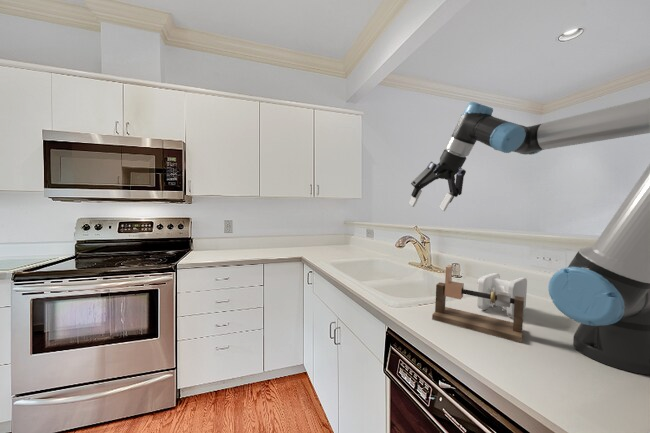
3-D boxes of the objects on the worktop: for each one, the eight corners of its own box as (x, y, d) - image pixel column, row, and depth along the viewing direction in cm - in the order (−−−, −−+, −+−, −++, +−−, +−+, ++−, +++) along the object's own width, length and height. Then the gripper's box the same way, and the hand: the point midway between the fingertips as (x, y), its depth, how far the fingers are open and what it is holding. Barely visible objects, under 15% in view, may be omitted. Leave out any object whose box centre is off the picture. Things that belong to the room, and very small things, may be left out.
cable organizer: (511, 321, 83) (513, 283, 82) (474, 310, 91) (476, 276, 91) (526, 311, 92) (528, 277, 92) (492, 302, 100) (493, 271, 100)
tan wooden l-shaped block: (463, 296, 83) (464, 267, 83) (460, 299, 80) (462, 269, 80) (447, 293, 86) (448, 265, 85) (444, 296, 83) (445, 266, 82)
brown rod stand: (522, 329, 77) (524, 293, 76) (521, 342, 69) (523, 302, 68) (440, 310, 90) (442, 279, 90) (432, 319, 82) (433, 285, 82)
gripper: (477, 155, 96) (448, 205, 106) (418, 141, 88) (393, 197, 98) (492, 163, 89) (459, 216, 100) (430, 149, 82) (402, 208, 92)
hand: (426, 207), depth 99 cm, fingers open, 13 cm apart
